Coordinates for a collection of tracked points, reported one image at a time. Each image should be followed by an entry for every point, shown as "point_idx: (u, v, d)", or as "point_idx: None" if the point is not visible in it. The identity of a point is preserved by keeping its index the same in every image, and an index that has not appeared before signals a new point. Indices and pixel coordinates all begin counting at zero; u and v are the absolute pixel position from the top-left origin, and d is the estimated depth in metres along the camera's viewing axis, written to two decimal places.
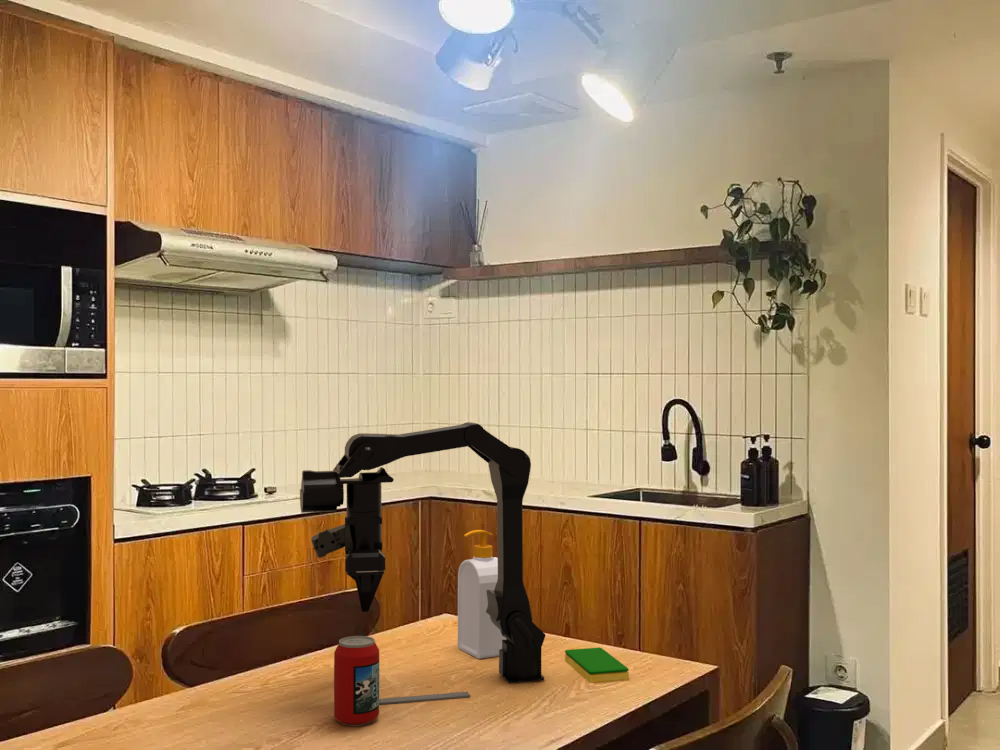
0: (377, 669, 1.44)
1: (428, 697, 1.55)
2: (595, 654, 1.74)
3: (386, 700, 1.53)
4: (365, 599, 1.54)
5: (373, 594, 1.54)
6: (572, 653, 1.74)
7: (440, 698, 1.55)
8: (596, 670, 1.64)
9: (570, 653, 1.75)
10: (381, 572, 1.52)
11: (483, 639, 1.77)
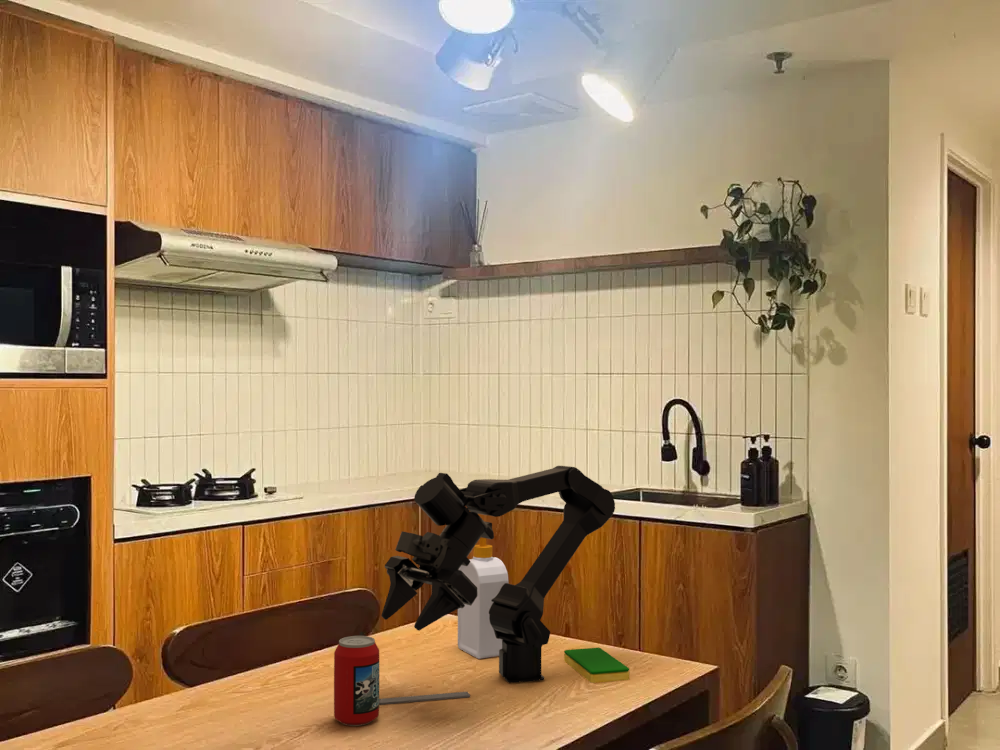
0: (377, 669, 1.44)
1: (428, 697, 1.55)
2: (595, 654, 1.74)
3: (386, 700, 1.53)
4: (427, 618, 1.47)
5: (436, 619, 1.48)
6: (572, 653, 1.74)
7: (440, 698, 1.55)
8: (597, 670, 1.64)
9: (570, 653, 1.74)
10: (463, 605, 1.48)
11: (483, 639, 1.77)
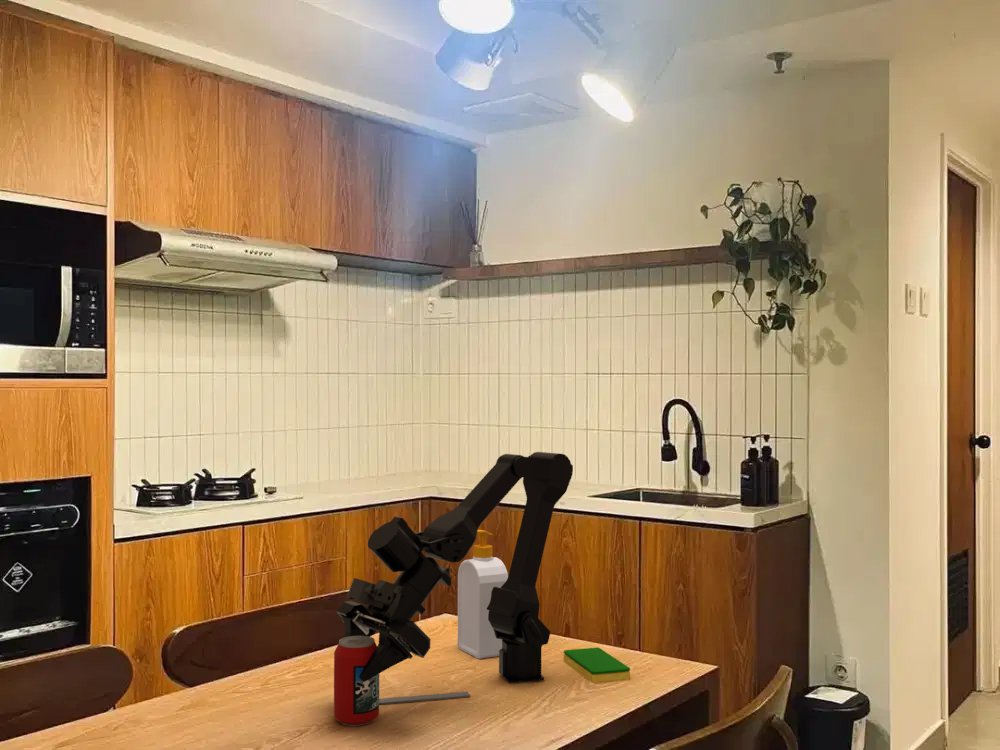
0: None
1: (428, 697, 1.55)
2: (594, 654, 1.74)
3: (386, 700, 1.53)
4: (373, 669, 1.42)
5: (382, 670, 1.43)
6: (571, 653, 1.74)
7: (440, 698, 1.55)
8: (598, 670, 1.64)
9: (569, 653, 1.74)
10: (411, 656, 1.43)
11: (483, 639, 1.77)
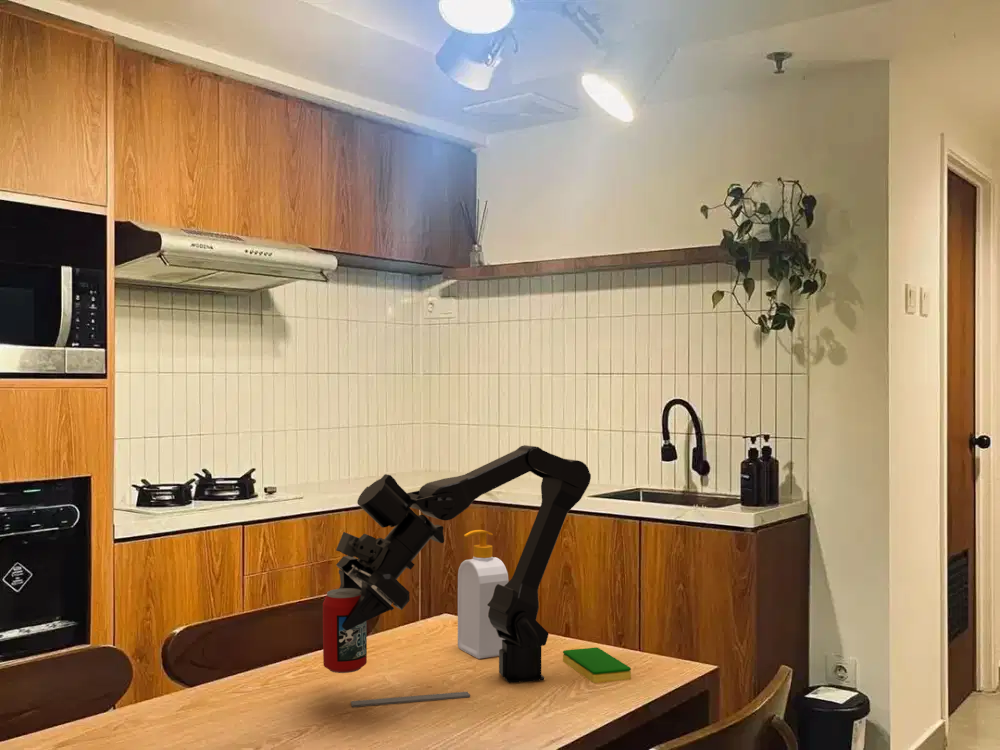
0: None
1: (428, 697, 1.55)
2: (594, 654, 1.74)
3: (386, 700, 1.53)
4: (355, 618, 1.48)
5: (364, 620, 1.48)
6: (571, 653, 1.74)
7: (440, 698, 1.55)
8: (599, 670, 1.64)
9: (569, 653, 1.74)
10: (392, 608, 1.48)
11: (483, 639, 1.77)
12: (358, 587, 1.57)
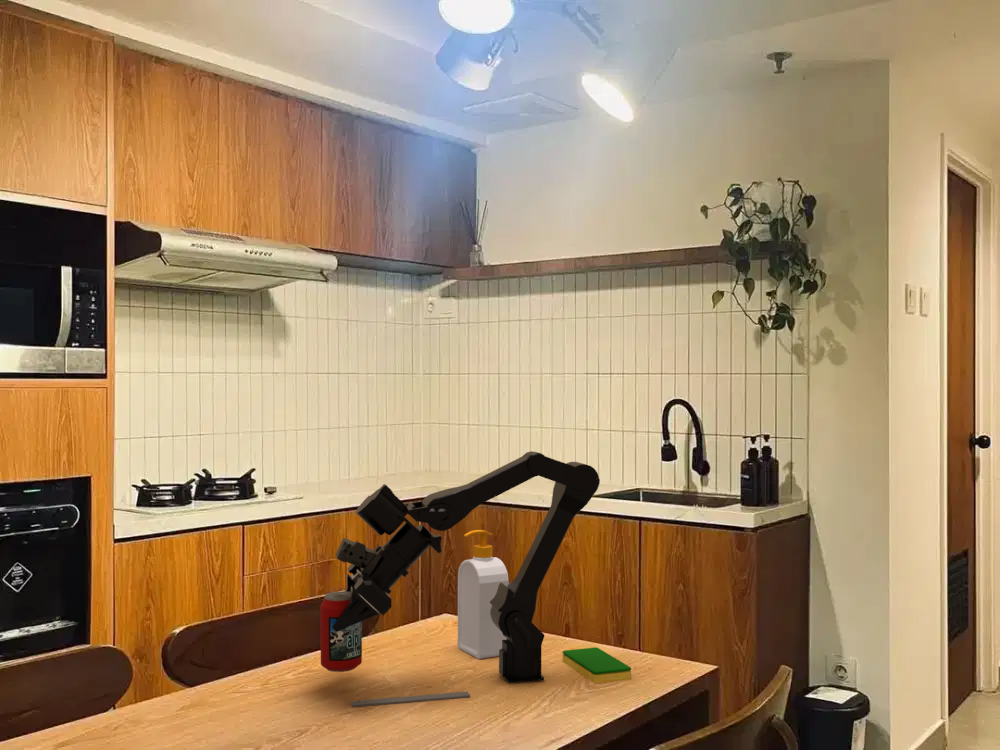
0: None
1: (428, 697, 1.55)
2: (594, 654, 1.74)
3: (386, 700, 1.53)
4: (344, 621, 1.55)
5: (353, 623, 1.55)
6: (571, 654, 1.74)
7: (440, 698, 1.55)
8: (600, 670, 1.64)
9: (569, 654, 1.74)
10: (377, 613, 1.54)
11: (483, 639, 1.77)
12: None
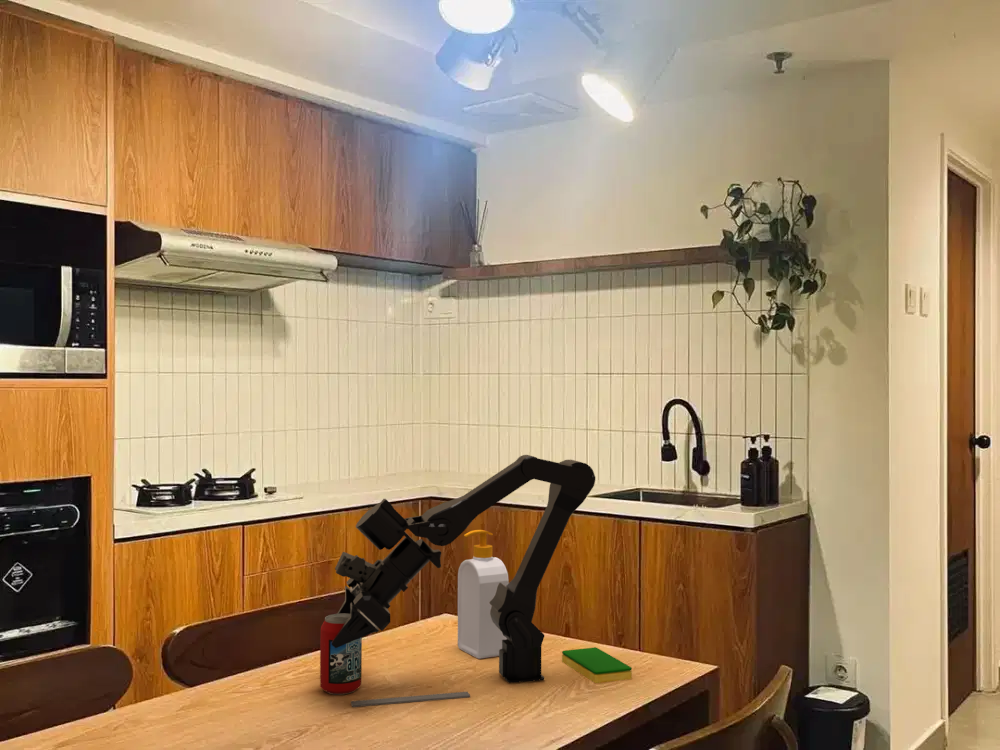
0: (353, 645, 1.57)
1: (428, 697, 1.55)
2: (594, 654, 1.74)
3: (386, 700, 1.53)
4: (343, 637, 1.54)
5: (352, 639, 1.54)
6: (571, 654, 1.74)
7: (440, 698, 1.55)
8: (601, 670, 1.64)
9: (568, 654, 1.74)
10: (376, 629, 1.53)
11: (483, 639, 1.77)
12: None
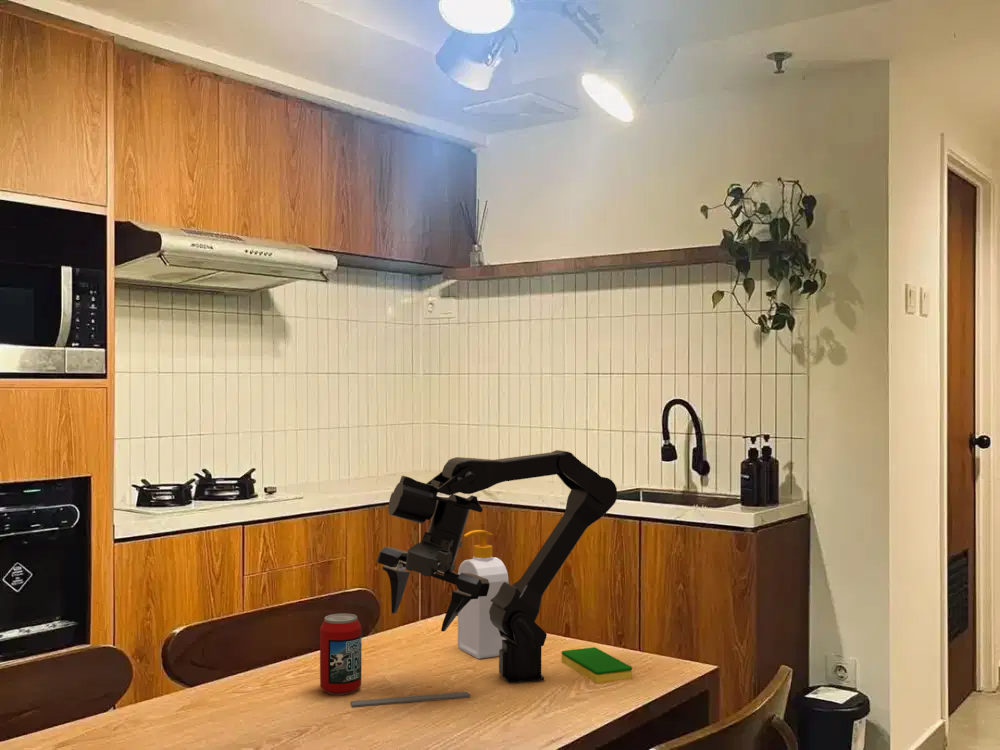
0: (353, 645, 1.57)
1: (428, 697, 1.55)
2: (593, 654, 1.74)
3: (386, 700, 1.53)
4: (451, 620, 1.58)
5: (456, 615, 1.60)
6: (570, 654, 1.74)
7: (440, 698, 1.55)
8: (602, 670, 1.64)
9: (568, 654, 1.74)
10: (478, 596, 1.60)
11: (483, 639, 1.77)
12: (404, 573, 1.63)
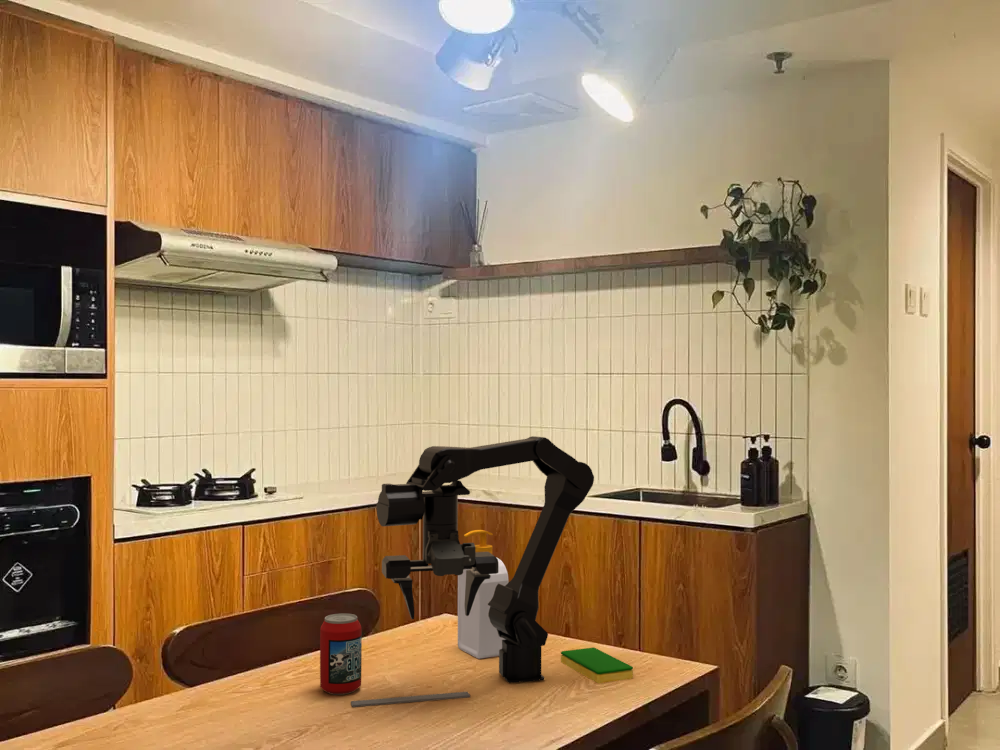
0: (353, 645, 1.57)
1: (428, 697, 1.55)
2: (593, 654, 1.74)
3: (386, 700, 1.53)
4: None
5: None
6: (570, 654, 1.74)
7: (440, 698, 1.55)
8: (603, 670, 1.64)
9: (568, 654, 1.74)
10: None
11: (483, 639, 1.77)
12: None
